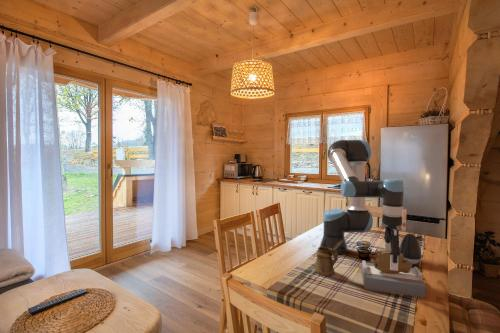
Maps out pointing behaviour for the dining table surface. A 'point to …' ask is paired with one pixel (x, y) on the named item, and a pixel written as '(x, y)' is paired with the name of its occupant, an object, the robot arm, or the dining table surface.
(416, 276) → the open storage tray
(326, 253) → the wooden mug
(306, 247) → the dining table surface
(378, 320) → the dining table surface
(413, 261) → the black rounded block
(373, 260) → the wooden carving
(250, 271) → the dining table surface
